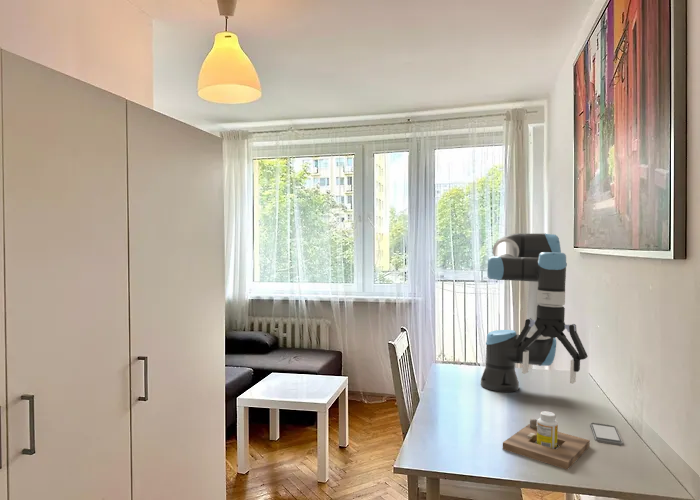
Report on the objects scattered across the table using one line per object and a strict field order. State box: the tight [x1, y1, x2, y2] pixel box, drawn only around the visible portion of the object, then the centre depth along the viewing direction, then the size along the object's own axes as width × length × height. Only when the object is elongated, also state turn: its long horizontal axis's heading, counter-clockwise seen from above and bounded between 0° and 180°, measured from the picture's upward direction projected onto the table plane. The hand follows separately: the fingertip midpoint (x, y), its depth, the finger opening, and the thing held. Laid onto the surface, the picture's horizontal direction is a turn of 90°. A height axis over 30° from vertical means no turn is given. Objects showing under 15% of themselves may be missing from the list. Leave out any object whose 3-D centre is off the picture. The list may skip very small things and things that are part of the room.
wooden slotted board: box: [502, 418, 591, 471], centre depth 142 cm, size 20×18×4 cm
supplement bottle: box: [536, 410, 559, 449], centre depth 142 cm, size 6×6×10 cm
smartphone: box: [589, 422, 624, 446], centre depth 154 cm, size 7×1×15 cm
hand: (548, 377), depth 142 cm, fingers open, 13 cm apart
